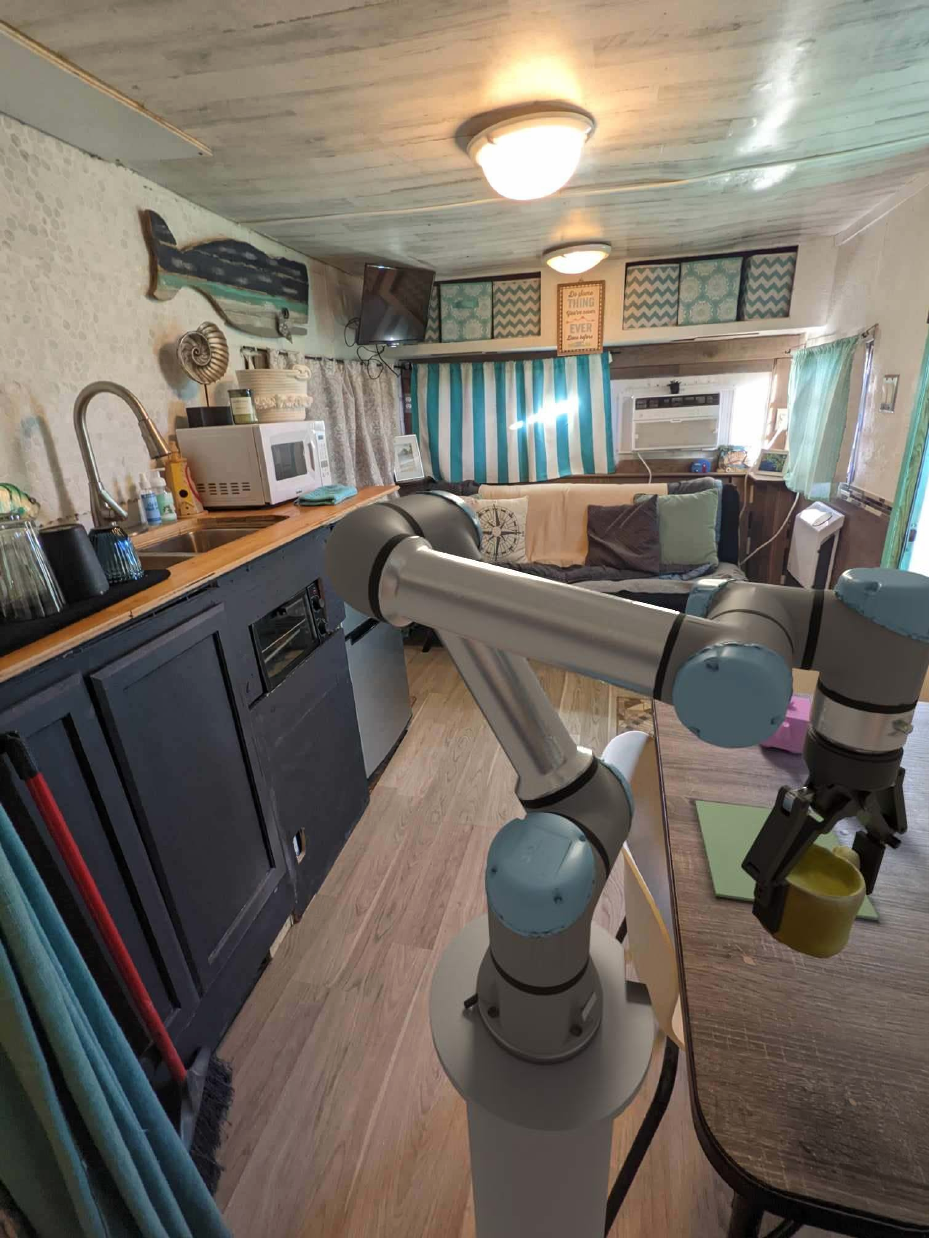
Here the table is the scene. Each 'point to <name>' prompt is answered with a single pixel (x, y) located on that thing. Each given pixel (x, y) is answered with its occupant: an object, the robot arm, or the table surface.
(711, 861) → the mat
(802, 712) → the teapot
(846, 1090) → the table surface
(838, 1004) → the table surface
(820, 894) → the mug
